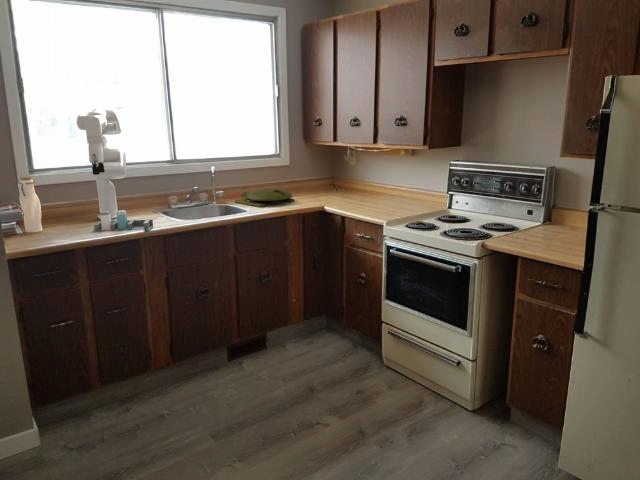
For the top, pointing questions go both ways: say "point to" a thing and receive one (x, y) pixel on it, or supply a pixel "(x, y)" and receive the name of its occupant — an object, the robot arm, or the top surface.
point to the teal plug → (122, 219)
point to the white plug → (105, 220)
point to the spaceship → (265, 196)
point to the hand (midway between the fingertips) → (98, 173)
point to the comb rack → (131, 225)
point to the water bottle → (30, 205)
